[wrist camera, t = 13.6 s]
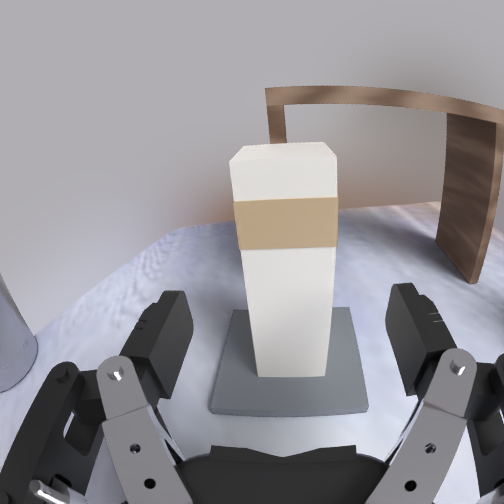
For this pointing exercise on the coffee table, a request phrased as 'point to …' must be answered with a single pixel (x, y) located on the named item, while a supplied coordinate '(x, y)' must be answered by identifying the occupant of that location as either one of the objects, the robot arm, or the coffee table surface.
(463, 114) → the shelf bay
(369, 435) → the coffee table surface
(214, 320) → the coffee table surface
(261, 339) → the carton
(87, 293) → the coffee table surface
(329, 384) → the mat
